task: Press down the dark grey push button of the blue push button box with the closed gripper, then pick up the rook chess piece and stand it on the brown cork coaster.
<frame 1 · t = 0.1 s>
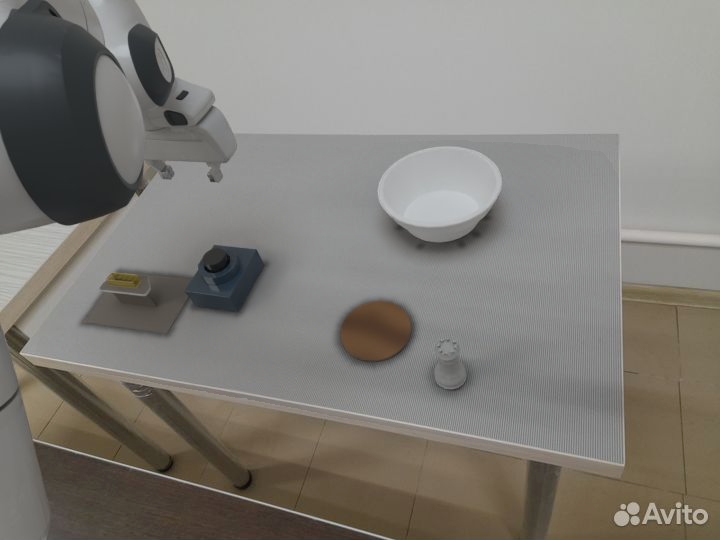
hand: (192, 178, 85), 19 cm above the table, tool pointing down, fingers open, 8 cm apart
bowl: (441, 218, 95), on the table
dark grey push button: (215, 260, 89), point 7 cm above the table, slide at 0.1 cm
blue push button box: (230, 285, 93), on the table
coaster: (375, 331, 81), on the table
platform: (142, 301, 95), on the table
rook chess piece: (450, 377, 73), on the table
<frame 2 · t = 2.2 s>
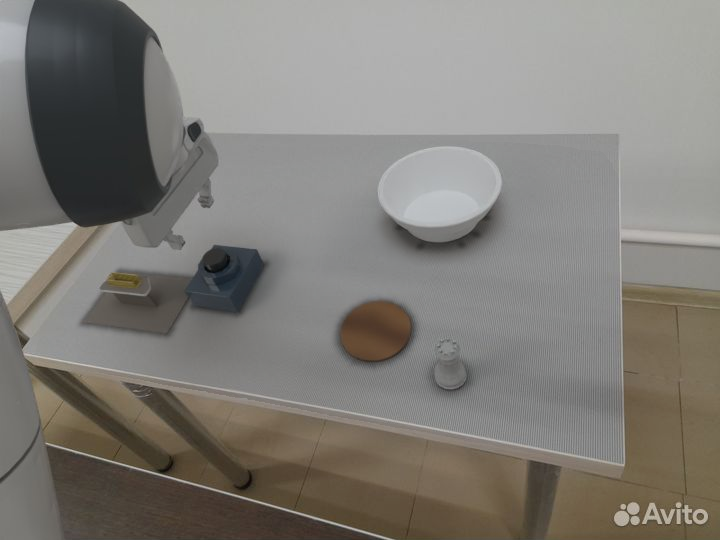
hand: (194, 225, 83), 15 cm above the table, tool pointing down, fingers open, 8 cm apart
nothing on the table moved.
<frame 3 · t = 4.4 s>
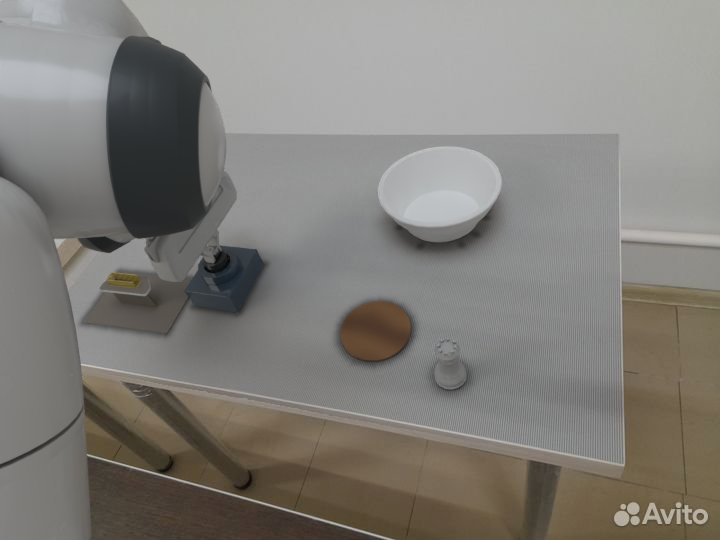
hand: (214, 256, 88), 7 cm above the table, tool pointing down, fingers closed, pressing on dark grey push button
dark grey push button: (216, 261, 89), point 6 cm above the table, slide at -0.2 cm, touching gripper
everything else where it was.
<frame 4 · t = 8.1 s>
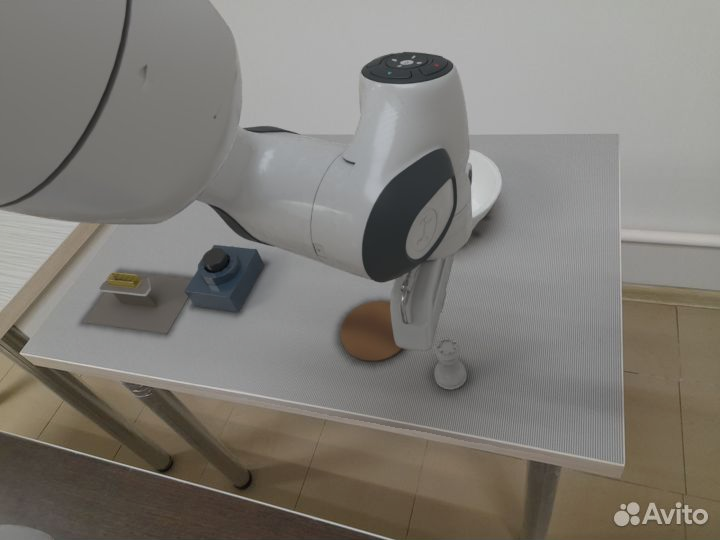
hand: (436, 303, 61), 17 cm above the table, tool pointing down, fingers closed
dark grey push button: (215, 260, 89), point 7 cm above the table, slide at 0.1 cm
everything else where it was.
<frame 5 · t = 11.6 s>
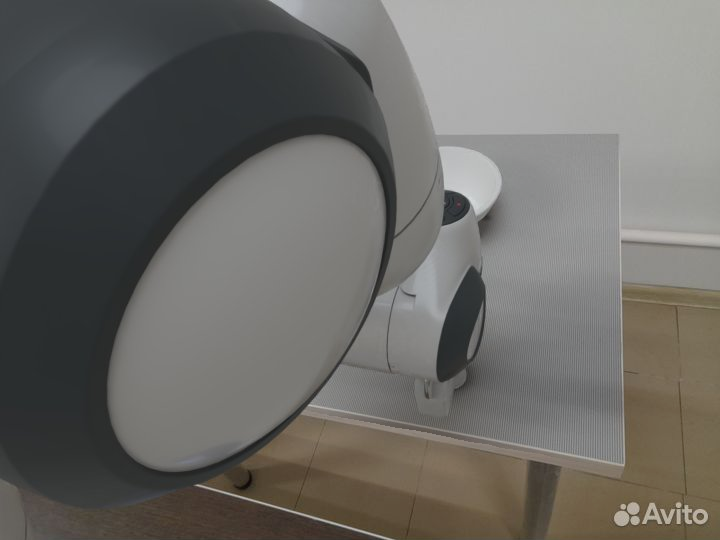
hand: (451, 366, 71), 3 cm above the table, tool pointing down, fingers closed on rook chess piece, 3 cm apart
rook chess piece: (450, 377, 73), on the table, touching gripper
everything else where it was.
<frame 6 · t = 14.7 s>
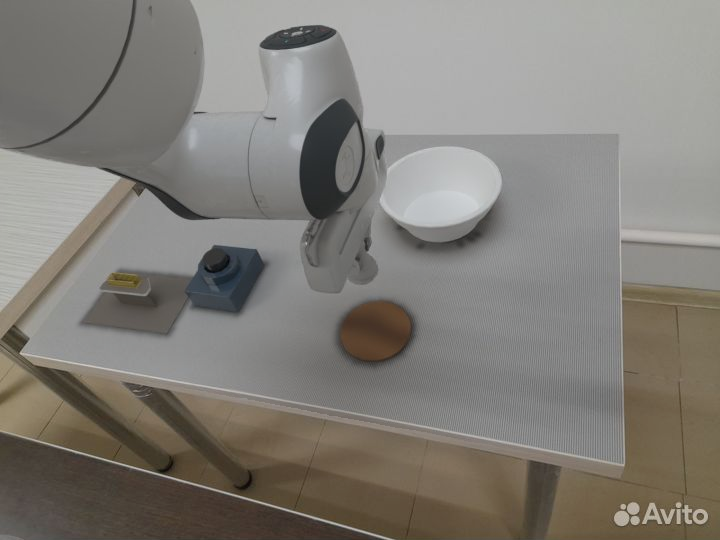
hand: (360, 258, 68), 17 cm above the table, tool pointing down, fingers closed on rook chess piece, 3 cm apart
rook chess piece: (363, 274, 70), point 14 cm above the table, touching gripper
everything else where it was.
when the fingers open (4 cm above the table, at t = 18.0 s): rook chess piece stays where it is, resting on coaster.
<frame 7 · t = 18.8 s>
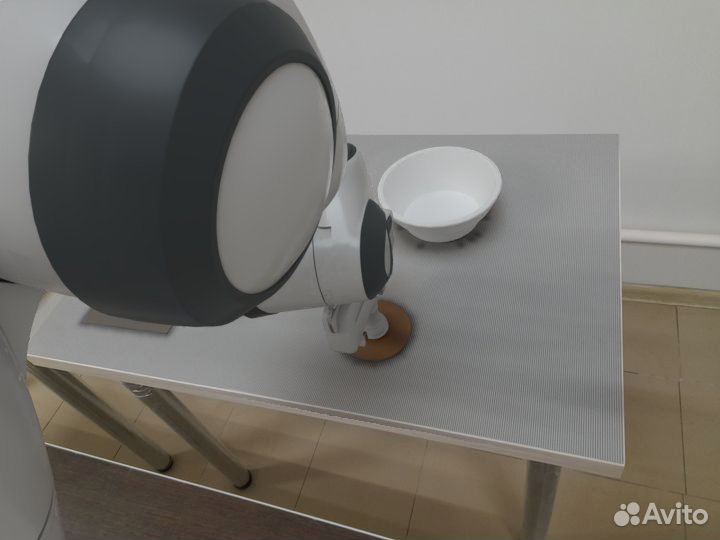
hand: (370, 315, 78), 4 cm above the table, tool pointing down, fingers open, 8 cm apart
rook chess piece: (374, 329, 81), resting on coaster
everything else where it was.
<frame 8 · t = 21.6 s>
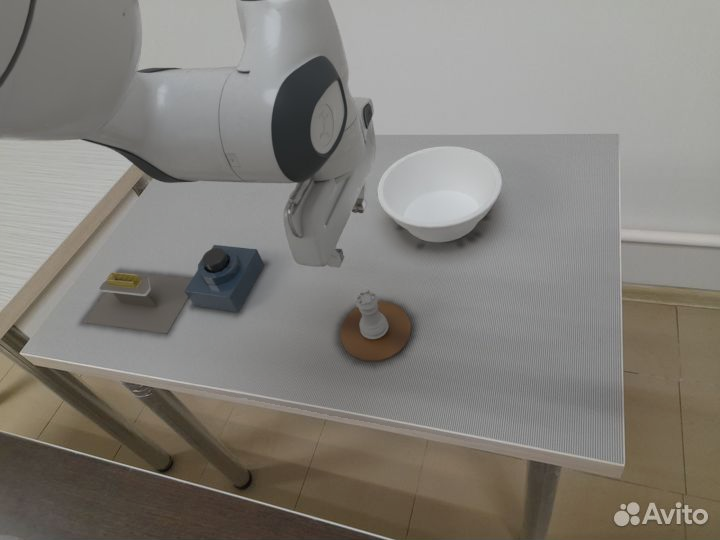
hand: (348, 234, 65), 21 cm above the table, tool pointing down, fingers open, 8 cm apart
nothing on the table moved.
at the end: dark grey push button pushed in 1.1 cm at the most during the clip, back to where it started at the end; dark grey push button slide at 0.1 cm; rook chess piece 0.1 cm off-centre on the coaster, point 0.3 cm above the coaster's base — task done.
